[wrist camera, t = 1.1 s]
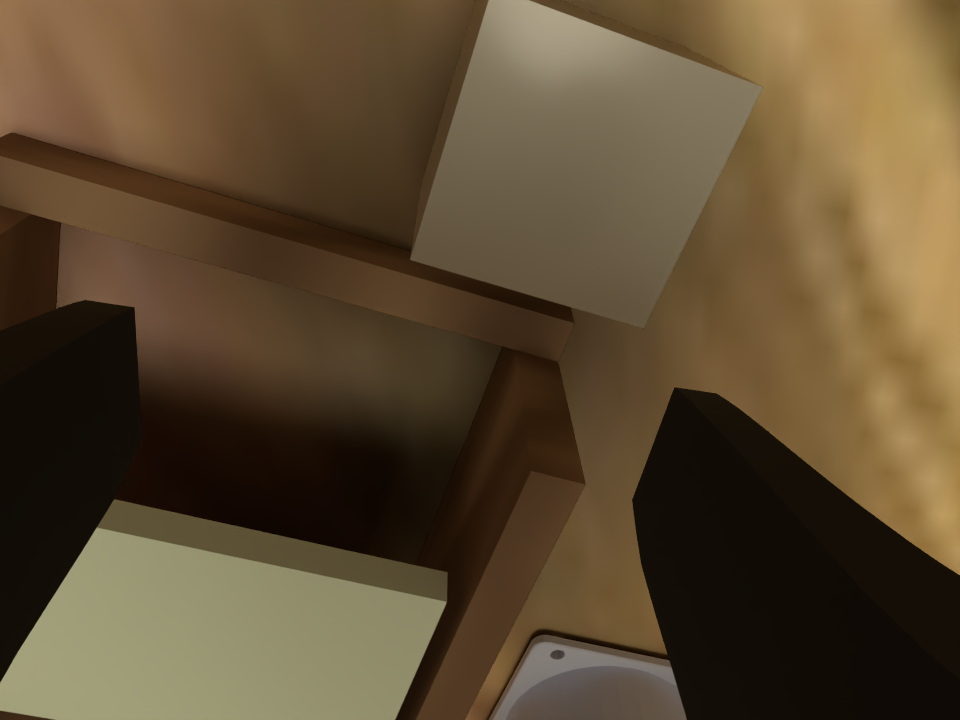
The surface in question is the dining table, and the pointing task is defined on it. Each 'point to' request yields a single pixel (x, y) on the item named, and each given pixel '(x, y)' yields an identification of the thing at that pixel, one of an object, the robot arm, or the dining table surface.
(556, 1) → the beige cube
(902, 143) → the dining table surface
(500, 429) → the frame
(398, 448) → the dining table surface
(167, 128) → the dining table surface
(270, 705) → the flap
